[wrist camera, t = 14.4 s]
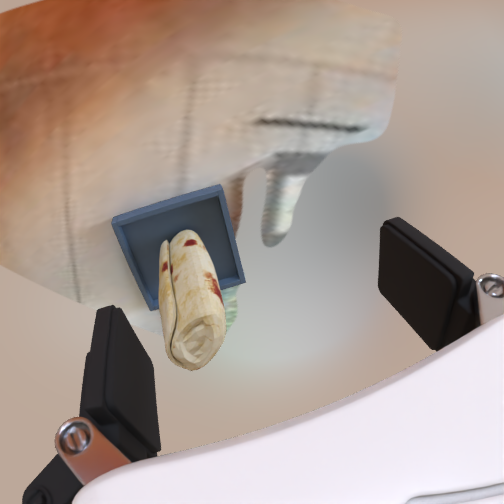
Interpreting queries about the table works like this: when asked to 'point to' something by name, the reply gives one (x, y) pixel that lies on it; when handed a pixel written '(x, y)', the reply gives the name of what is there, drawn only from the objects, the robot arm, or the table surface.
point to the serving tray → (168, 226)
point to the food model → (190, 302)
